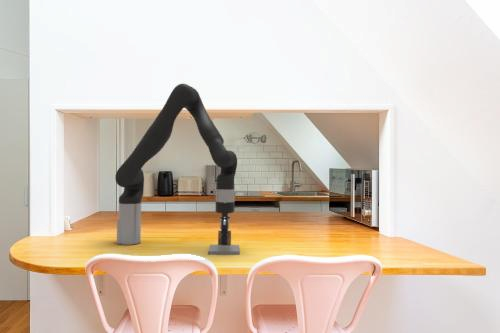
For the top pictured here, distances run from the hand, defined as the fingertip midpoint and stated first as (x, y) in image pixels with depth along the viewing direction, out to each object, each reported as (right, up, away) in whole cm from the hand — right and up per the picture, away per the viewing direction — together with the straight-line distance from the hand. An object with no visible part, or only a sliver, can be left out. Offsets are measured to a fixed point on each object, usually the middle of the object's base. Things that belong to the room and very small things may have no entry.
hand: (224, 243), depth 154 cm
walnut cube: (0, 0, 0) cm, 0 cm away
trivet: (0, -3, 0) cm, 3 cm away
